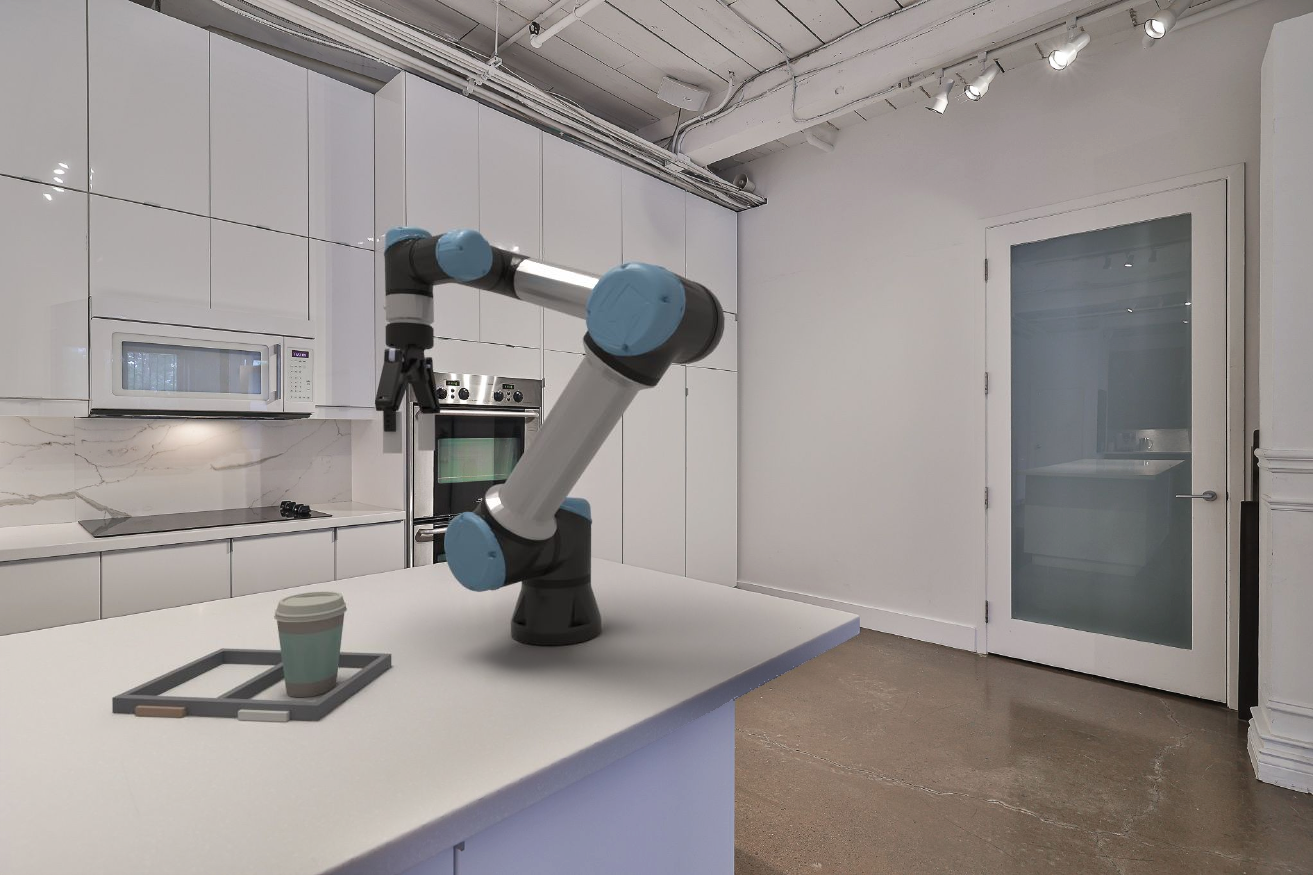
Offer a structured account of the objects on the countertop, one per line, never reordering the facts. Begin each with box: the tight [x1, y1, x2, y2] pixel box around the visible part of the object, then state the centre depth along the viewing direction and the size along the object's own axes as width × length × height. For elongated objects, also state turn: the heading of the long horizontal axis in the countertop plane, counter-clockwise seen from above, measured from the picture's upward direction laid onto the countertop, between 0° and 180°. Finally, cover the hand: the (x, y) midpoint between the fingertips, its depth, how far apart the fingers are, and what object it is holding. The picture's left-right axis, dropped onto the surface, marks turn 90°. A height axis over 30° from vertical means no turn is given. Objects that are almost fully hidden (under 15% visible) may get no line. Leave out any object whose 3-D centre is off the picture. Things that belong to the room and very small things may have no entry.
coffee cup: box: [273, 591, 348, 698], centre depth 88 cm, size 8×8×12 cm
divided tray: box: [111, 648, 392, 723], centre depth 88 cm, size 26×19×2 cm
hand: (410, 452), depth 111 cm, fingers open, 13 cm apart
